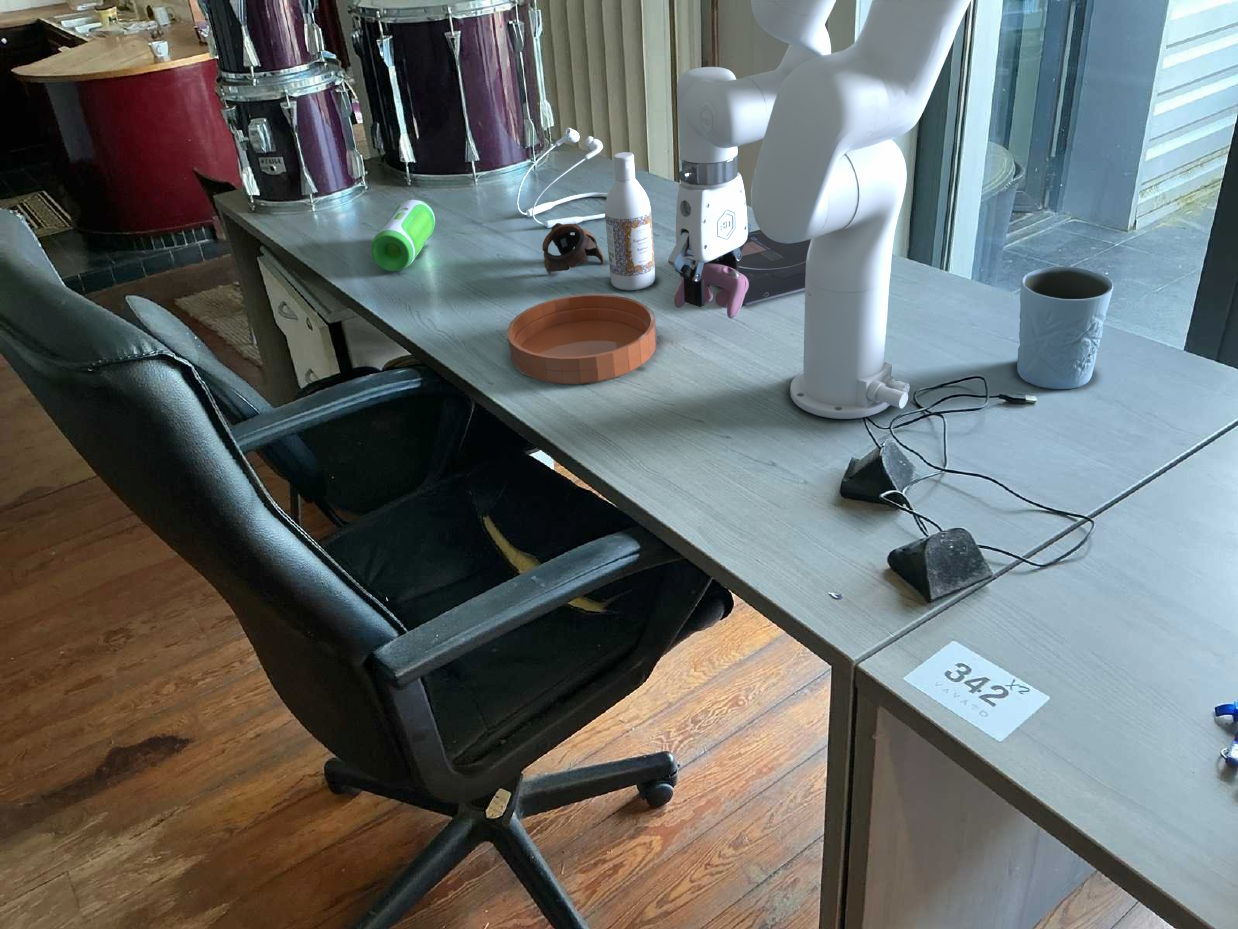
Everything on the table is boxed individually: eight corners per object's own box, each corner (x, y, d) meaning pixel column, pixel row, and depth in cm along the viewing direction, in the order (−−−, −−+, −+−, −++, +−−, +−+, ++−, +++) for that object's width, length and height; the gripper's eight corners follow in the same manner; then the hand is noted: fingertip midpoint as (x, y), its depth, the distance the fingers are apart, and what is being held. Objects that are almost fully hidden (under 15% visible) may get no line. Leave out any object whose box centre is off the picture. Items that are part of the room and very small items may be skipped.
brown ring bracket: (618, 269, 168) (599, 236, 162) (571, 305, 168) (551, 273, 162) (583, 232, 175) (564, 198, 169) (538, 265, 175) (517, 233, 169)
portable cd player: (692, 269, 165) (691, 245, 163) (785, 247, 170) (785, 223, 168) (742, 306, 152) (742, 280, 150) (842, 280, 157) (843, 255, 155)
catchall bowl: (686, 343, 143) (685, 317, 141) (580, 401, 132) (576, 373, 129) (586, 307, 156) (584, 283, 153) (481, 357, 144) (476, 331, 142)
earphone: (500, 197, 190) (559, 117, 189) (559, 248, 201) (615, 173, 201) (533, 216, 180) (595, 132, 179) (593, 269, 191) (652, 190, 190)
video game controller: (745, 320, 145) (755, 270, 144) (732, 319, 141) (742, 267, 140) (684, 308, 150) (693, 260, 149) (669, 306, 146) (678, 256, 145)
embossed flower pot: (1086, 398, 123) (1104, 305, 116) (999, 382, 127) (1011, 291, 121) (1103, 362, 130) (1120, 271, 123) (1019, 348, 134) (1032, 260, 128)
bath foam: (627, 295, 158) (616, 165, 147) (602, 282, 163) (590, 155, 153) (664, 282, 161) (656, 154, 150) (638, 270, 166) (629, 144, 155)
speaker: (401, 237, 188) (393, 196, 184) (441, 235, 187) (433, 195, 183) (373, 275, 173) (364, 232, 169) (416, 274, 172) (407, 230, 168)
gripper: (685, 193, 128) (690, 324, 138) (773, 156, 138) (771, 281, 148) (642, 182, 133) (649, 310, 143) (729, 147, 143) (731, 269, 153)
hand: (711, 294), depth 145 cm, fingers closed on video game controller, 6 cm apart
